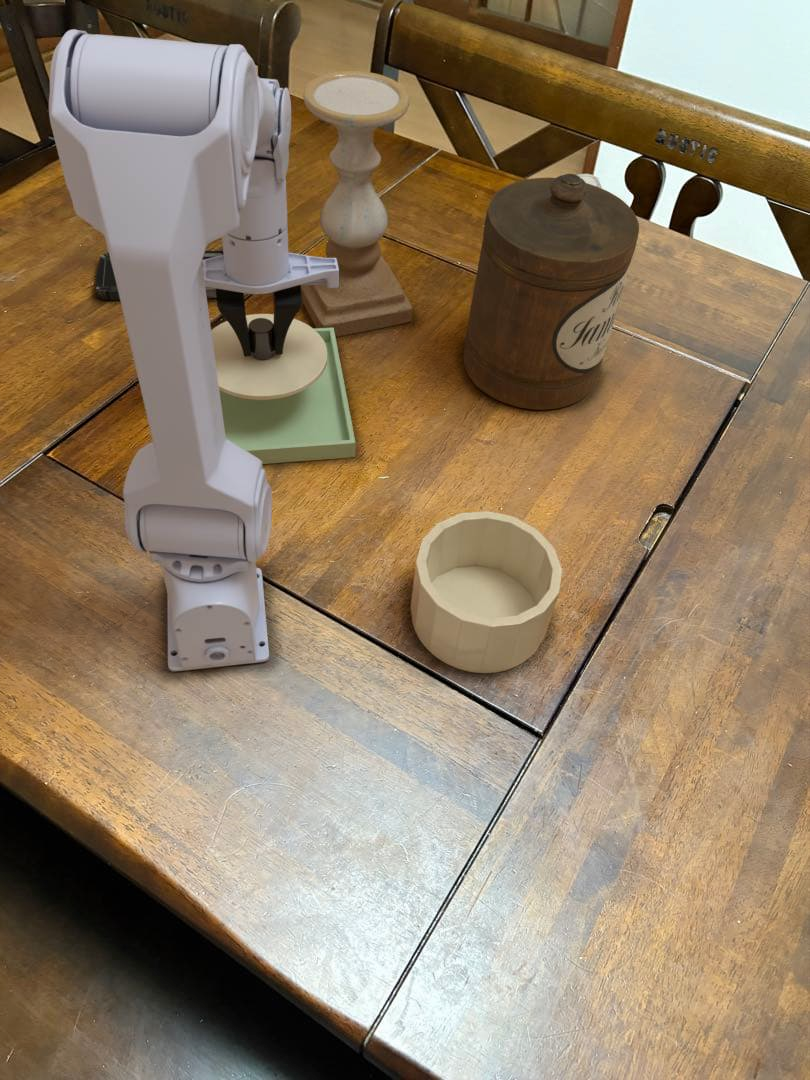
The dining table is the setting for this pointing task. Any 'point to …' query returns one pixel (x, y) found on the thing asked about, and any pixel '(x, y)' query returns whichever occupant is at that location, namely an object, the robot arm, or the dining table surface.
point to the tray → (296, 418)
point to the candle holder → (356, 205)
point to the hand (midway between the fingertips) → (262, 349)
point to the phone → (107, 281)
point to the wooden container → (547, 290)
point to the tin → (484, 591)
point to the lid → (268, 359)
